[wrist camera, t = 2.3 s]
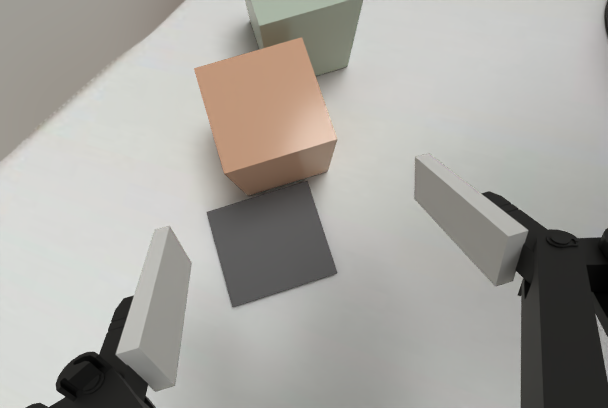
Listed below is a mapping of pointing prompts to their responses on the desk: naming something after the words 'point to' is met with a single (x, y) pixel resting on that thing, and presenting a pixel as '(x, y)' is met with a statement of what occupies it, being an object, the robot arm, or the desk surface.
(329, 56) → the sage green cube
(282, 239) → the coaster
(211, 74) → the peach salmon cube
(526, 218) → the robot arm
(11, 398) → the desk surface
